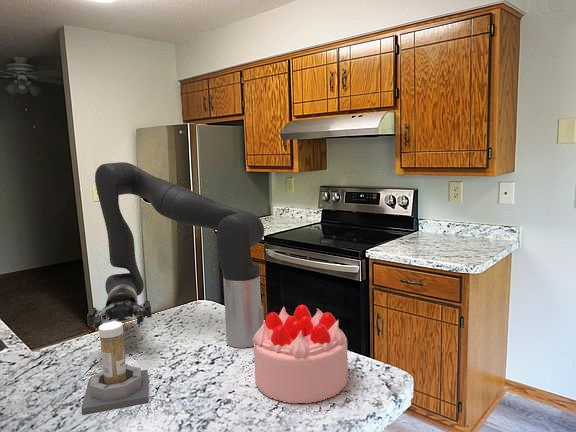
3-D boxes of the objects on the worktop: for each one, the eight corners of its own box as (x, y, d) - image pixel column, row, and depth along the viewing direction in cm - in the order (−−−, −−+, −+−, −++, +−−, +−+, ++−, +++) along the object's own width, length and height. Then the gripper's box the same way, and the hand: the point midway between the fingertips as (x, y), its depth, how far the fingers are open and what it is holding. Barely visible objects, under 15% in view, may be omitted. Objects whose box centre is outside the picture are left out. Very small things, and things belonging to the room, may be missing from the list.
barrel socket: (147, 374, 100) (146, 359, 99) (148, 402, 88) (146, 385, 88) (89, 384, 96) (87, 368, 96) (81, 414, 85) (80, 396, 84)
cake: (362, 396, 89) (362, 327, 87) (263, 413, 84) (260, 340, 82) (329, 354, 107) (328, 296, 105) (246, 365, 103) (244, 306, 101)
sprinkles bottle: (130, 388, 91) (125, 325, 90) (106, 395, 89) (100, 331, 87) (124, 379, 95) (119, 318, 93) (102, 386, 93) (96, 323, 91)
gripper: (91, 291, 114) (83, 311, 99) (149, 284, 119) (150, 302, 103) (94, 319, 115) (86, 344, 100) (151, 311, 120) (152, 333, 104)
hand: (118, 323), depth 102 cm, fingers open, 8 cm apart
